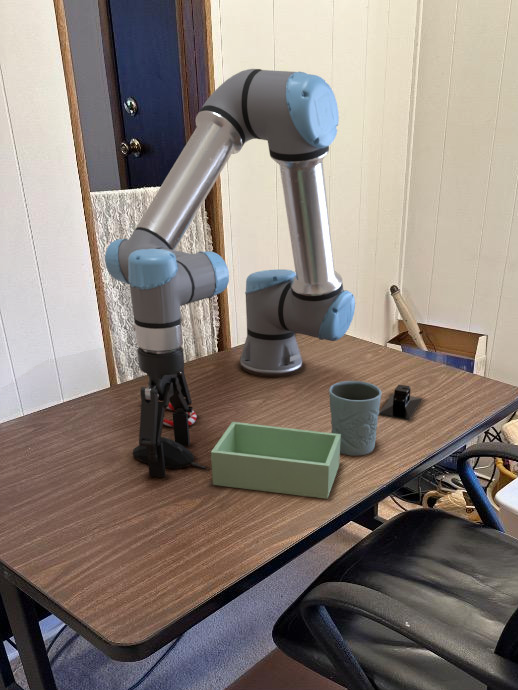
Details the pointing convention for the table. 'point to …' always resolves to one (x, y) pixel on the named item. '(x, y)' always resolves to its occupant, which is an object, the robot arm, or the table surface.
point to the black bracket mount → (401, 403)
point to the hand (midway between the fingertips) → (170, 459)
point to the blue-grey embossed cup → (355, 415)
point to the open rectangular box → (276, 459)
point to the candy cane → (192, 415)
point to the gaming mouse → (169, 454)
